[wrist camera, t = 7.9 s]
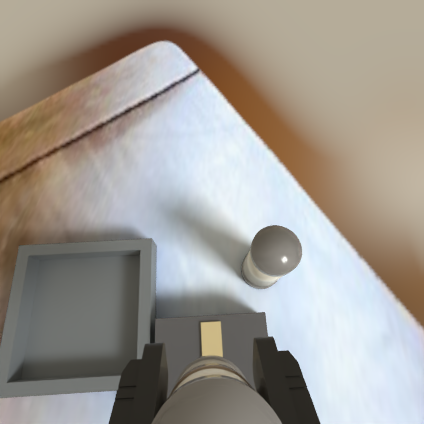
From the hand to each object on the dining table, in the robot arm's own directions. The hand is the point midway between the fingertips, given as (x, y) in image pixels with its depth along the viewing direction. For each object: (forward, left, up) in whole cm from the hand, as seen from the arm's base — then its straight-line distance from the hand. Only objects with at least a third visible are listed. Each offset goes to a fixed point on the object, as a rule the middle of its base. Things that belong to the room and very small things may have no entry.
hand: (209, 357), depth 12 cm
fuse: (+5, +6, -16) cm, 18 cm away
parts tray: (-11, +3, -16) cm, 19 cm away
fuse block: (0, -2, -16) cm, 16 cm away
